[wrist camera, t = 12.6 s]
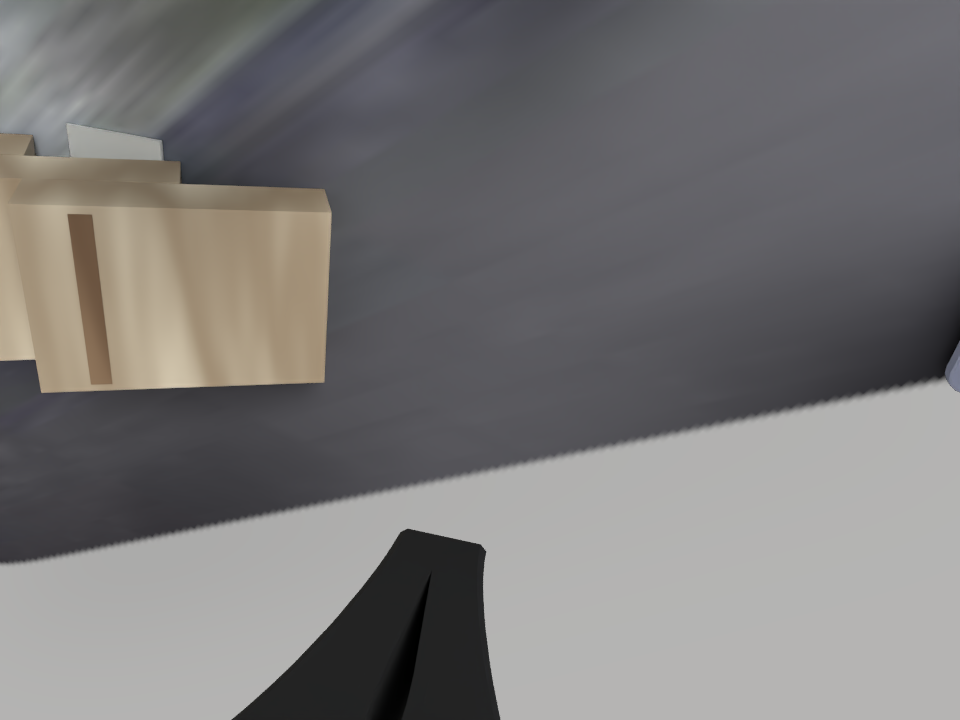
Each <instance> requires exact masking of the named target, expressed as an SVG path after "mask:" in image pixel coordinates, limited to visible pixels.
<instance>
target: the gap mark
mask: <svg viewBox="0 0 960 720" xmlns="http://www.w3.org/2000/svg"><path fill="white" fill-rule="evenodd" d="M66 128H67V135H68V142H69V149H70V157H76V158H103V159H131V160H158V161H164V158H163V145H162V140H158V139H152V138H147V137H141V136H136V135H131V134H125V133H120V132H114V131H109V130H104V129H98V128H93V127H87V126H82V125H77V124H71V123H67V124H66Z"/></svg>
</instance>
